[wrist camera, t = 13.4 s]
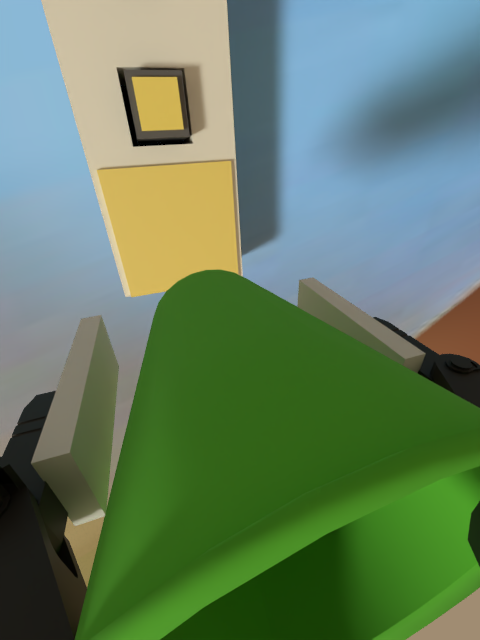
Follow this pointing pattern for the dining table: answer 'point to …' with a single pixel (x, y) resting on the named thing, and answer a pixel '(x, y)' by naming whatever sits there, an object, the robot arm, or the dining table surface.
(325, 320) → the robot arm
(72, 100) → the box
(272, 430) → the cup
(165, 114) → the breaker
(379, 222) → the dining table surface
